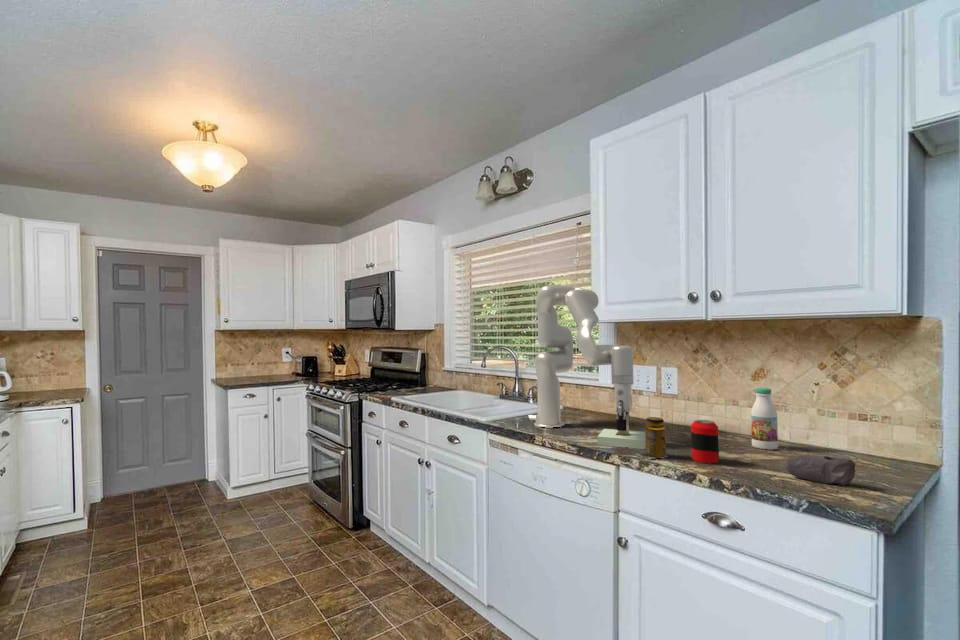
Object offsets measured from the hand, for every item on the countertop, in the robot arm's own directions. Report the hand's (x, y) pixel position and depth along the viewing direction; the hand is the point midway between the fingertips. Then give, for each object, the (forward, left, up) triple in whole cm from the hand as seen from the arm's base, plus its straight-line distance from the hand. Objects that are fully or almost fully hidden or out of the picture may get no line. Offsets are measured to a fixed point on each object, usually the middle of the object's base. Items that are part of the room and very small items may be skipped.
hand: (623, 427), depth 169 cm
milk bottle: (+45, +10, -5) cm, 46 cm away
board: (0, 0, -5) cm, 5 cm away
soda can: (+26, -15, -5) cm, 31 cm away
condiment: (+11, -15, -6) cm, 19 cm away
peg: (0, 0, -5) cm, 5 cm away
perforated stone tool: (+53, -26, -6) cm, 59 cm away
